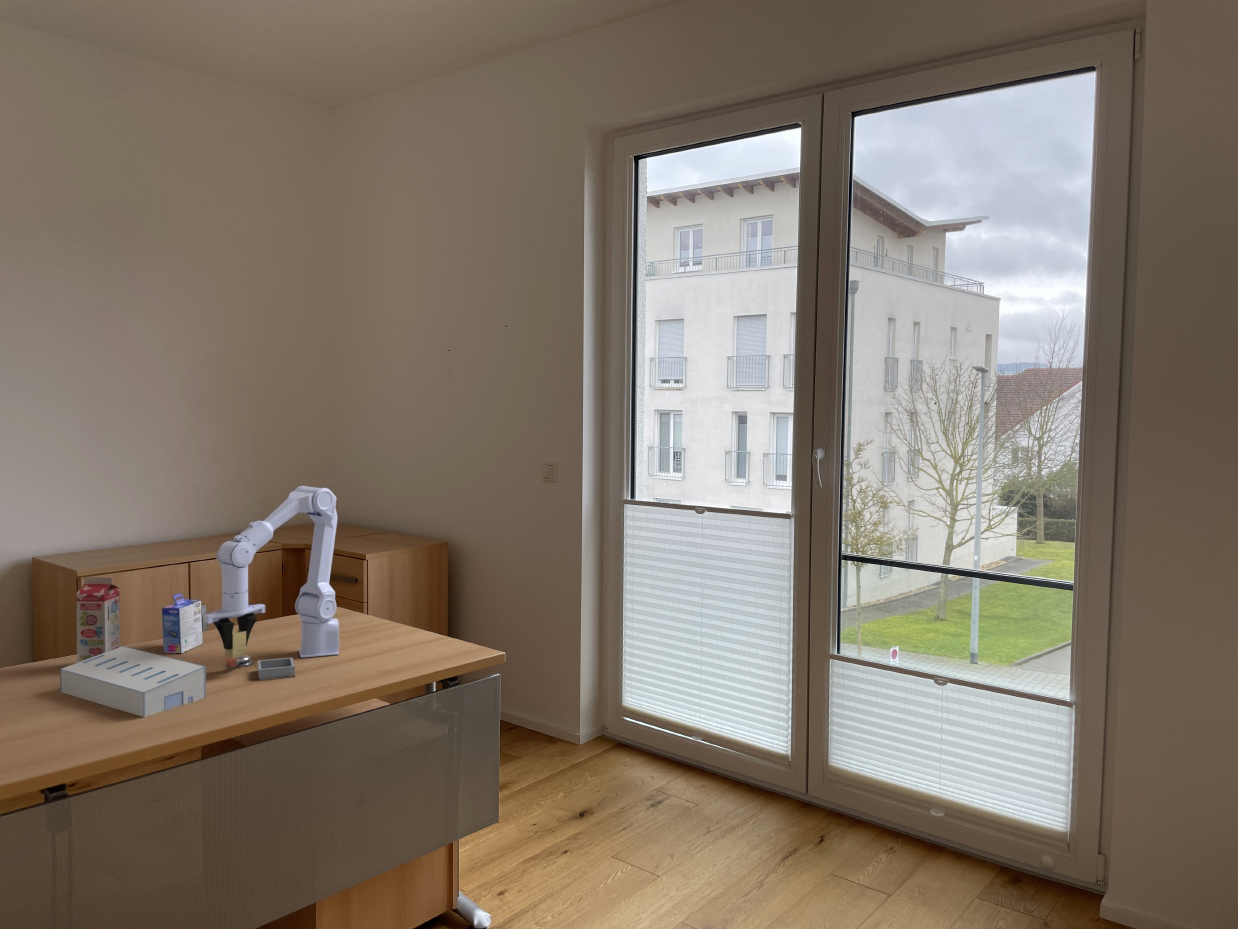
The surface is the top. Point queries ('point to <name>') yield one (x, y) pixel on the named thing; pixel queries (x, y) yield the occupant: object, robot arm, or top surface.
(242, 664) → the bearing
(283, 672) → the tray
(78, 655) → the juice carton
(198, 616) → the ink cartridge box
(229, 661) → the crank
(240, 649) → the block
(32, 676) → the top surface
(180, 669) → the warehouse
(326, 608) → the robot arm
